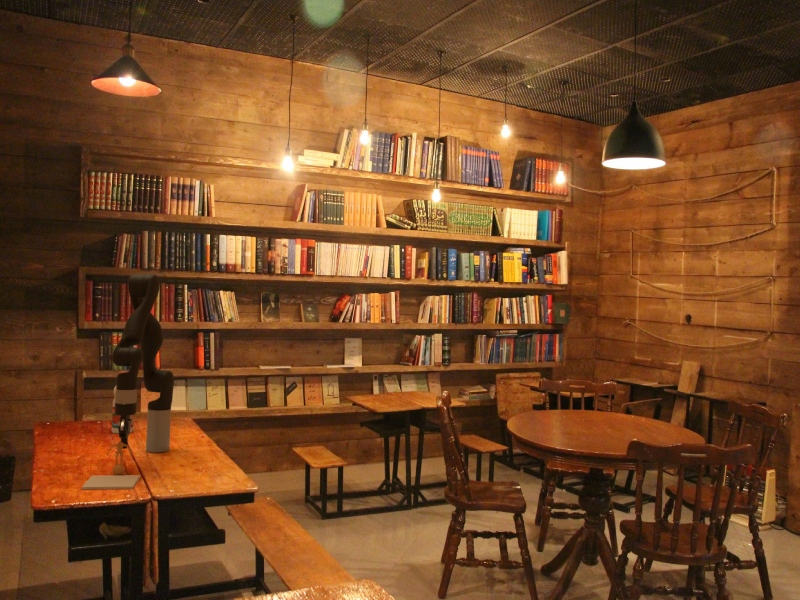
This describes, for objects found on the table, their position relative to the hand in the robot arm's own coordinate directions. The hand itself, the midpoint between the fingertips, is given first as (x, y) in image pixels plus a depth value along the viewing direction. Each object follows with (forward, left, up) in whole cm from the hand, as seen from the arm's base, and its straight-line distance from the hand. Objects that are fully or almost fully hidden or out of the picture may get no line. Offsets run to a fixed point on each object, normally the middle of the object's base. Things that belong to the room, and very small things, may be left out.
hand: (123, 448), depth 263 cm
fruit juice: (-71, -13, -8) cm, 72 cm away
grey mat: (+21, 0, -8) cm, 22 cm away
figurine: (+9, 0, -8) cm, 12 cm away
